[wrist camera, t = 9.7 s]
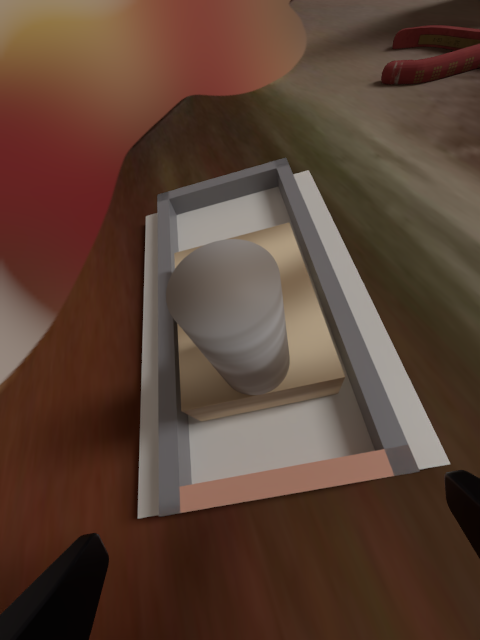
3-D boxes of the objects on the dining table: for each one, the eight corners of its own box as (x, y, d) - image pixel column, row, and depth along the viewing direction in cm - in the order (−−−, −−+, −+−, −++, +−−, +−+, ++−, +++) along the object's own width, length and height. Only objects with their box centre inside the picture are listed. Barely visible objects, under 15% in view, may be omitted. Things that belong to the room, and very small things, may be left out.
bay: (442, 464, 16) (469, 462, 13) (145, 516, 17) (118, 523, 15) (308, 179, 30) (309, 150, 27) (150, 223, 31) (136, 200, 29)
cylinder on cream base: (338, 393, 17) (378, 299, 8) (201, 421, 18) (93, 365, 9) (291, 254, 24) (283, 107, 14) (190, 280, 24) (118, 158, 15)
